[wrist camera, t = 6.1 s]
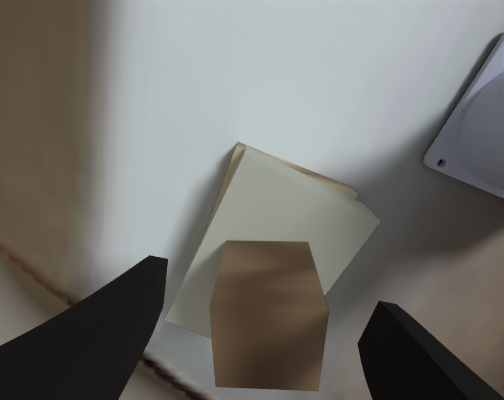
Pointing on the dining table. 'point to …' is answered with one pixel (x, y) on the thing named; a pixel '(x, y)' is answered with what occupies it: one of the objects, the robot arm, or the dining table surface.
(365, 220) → the slab top
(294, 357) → the walnut block
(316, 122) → the dining table surface
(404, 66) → the dining table surface
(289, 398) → the dining table surface
